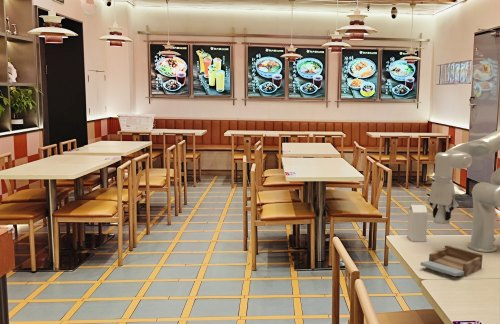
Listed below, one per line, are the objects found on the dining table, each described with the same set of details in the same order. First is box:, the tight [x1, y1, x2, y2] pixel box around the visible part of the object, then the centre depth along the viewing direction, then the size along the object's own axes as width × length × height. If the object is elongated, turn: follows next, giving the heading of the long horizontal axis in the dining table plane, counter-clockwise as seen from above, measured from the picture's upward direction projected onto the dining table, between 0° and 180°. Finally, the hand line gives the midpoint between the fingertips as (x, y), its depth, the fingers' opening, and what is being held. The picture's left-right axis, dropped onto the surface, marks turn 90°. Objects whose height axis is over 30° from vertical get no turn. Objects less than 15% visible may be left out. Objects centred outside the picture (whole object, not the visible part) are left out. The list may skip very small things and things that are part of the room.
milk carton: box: [406, 202, 428, 242], centre depth 235 cm, size 7×7×19 cm
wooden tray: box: [428, 244, 483, 277], centre depth 199 cm, size 14×16×6 cm
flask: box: [433, 205, 451, 225], centre depth 215 cm, size 7×7×10 cm
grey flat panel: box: [420, 260, 464, 277], centre depth 192 cm, size 2×15×7 cm
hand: (441, 218), depth 215 cm, fingers closed on flask, 5 cm apart
